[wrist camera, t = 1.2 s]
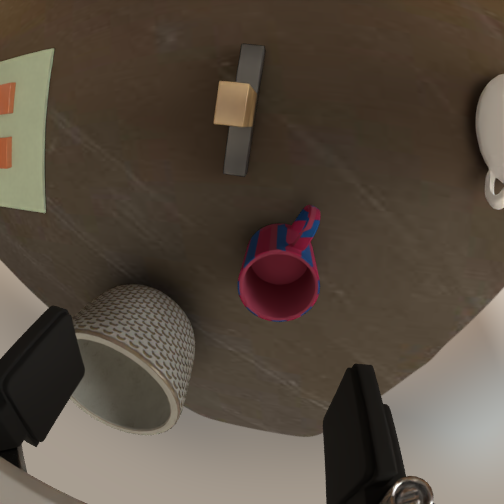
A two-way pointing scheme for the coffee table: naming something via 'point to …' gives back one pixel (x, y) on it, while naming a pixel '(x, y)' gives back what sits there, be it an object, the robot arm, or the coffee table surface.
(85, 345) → the planter
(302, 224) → the cup
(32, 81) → the mat
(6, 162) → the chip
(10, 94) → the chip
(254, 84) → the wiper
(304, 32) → the coffee table surface
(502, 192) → the teapot
